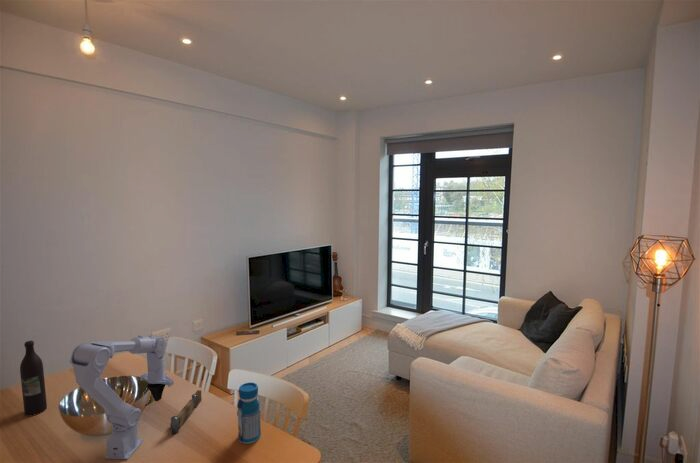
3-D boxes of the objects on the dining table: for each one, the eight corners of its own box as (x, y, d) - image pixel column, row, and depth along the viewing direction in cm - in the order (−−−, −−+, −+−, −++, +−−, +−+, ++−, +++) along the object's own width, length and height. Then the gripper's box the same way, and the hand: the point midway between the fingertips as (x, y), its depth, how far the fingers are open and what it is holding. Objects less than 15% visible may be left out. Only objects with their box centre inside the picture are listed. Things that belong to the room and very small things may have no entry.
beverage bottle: (251, 447, 131) (249, 395, 129) (233, 440, 135) (231, 389, 132) (265, 433, 139) (264, 383, 136) (248, 427, 142) (247, 378, 140)
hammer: (176, 434, 137) (175, 420, 137) (165, 434, 138) (164, 419, 137) (202, 400, 159) (201, 387, 159) (193, 400, 160) (192, 387, 159)
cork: (156, 398, 161) (155, 374, 160) (147, 406, 155) (146, 381, 154) (143, 397, 162) (142, 373, 160) (134, 405, 156) (132, 380, 154)
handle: (178, 429, 140) (178, 418, 139) (174, 429, 140) (174, 418, 139) (194, 409, 152) (194, 399, 152) (190, 409, 153) (190, 399, 152)
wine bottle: (20, 414, 148) (12, 344, 145) (38, 404, 155) (31, 337, 152) (33, 417, 147) (26, 346, 143) (51, 407, 154) (44, 339, 150)
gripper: (178, 365, 143) (180, 397, 144) (150, 359, 147) (151, 391, 149) (164, 373, 136) (166, 407, 138) (134, 367, 140) (137, 400, 142)
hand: (157, 399), depth 143 cm, fingers closed
